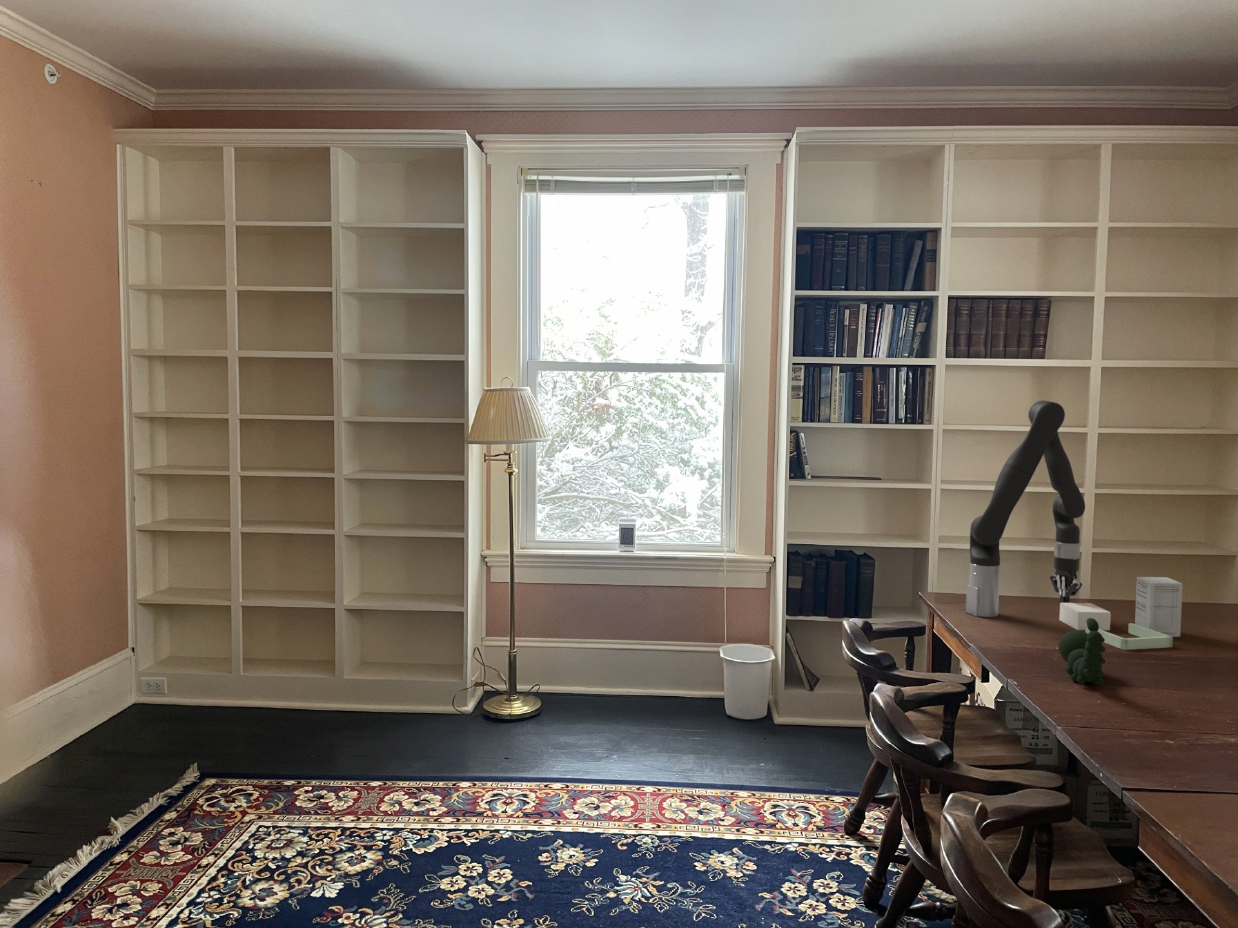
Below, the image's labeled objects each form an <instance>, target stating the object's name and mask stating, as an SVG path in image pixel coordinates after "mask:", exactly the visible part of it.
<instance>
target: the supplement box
mask: <svg viewBox="0 0 1238 928" xmlns="http://www.w3.org/2000/svg"><path fill="white" fill-rule="evenodd" d="M1135 591H1136V592H1135V593H1136V594H1135V613H1134V614H1135V616H1134V617H1135V619H1134V624H1136V625H1139V626H1142V627H1145V628H1148V629H1151V630H1154V631H1157V632H1159V633H1162V634H1165V635H1168V636H1171V637H1173V638H1179V637H1181V630H1182V629H1181V627H1182V607H1183V606H1182V601H1183V583H1182V582H1180V581H1178V580H1174V579H1172V578H1170V577H1166V576H1163V577H1162V576H1161V577H1160V576H1156V577H1155V576H1137V577H1136V590H1135Z"/></svg>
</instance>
